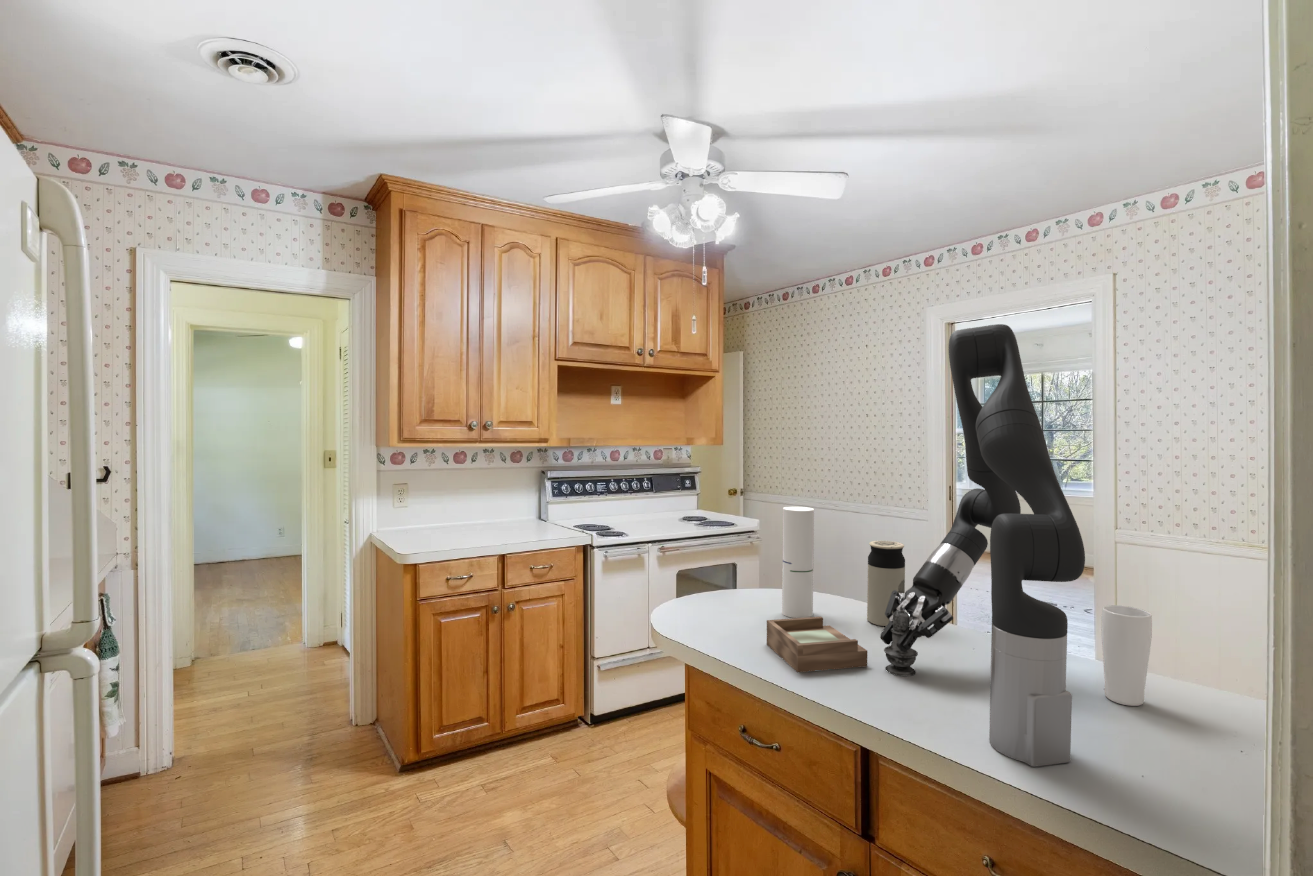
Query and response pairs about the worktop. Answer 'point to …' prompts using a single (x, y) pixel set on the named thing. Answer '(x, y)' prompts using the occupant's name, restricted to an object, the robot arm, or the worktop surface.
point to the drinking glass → (1125, 652)
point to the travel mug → (884, 578)
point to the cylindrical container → (797, 562)
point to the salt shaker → (893, 653)
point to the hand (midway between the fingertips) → (892, 644)
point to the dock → (813, 645)
